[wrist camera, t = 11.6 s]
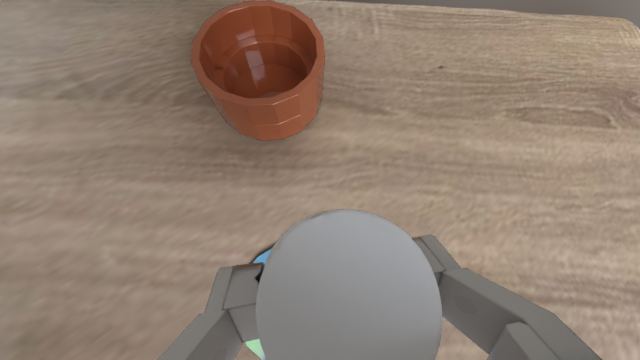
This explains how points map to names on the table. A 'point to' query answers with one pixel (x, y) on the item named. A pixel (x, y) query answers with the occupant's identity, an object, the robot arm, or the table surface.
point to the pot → (261, 67)
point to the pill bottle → (348, 292)
